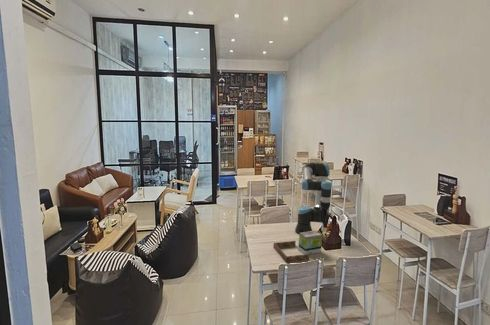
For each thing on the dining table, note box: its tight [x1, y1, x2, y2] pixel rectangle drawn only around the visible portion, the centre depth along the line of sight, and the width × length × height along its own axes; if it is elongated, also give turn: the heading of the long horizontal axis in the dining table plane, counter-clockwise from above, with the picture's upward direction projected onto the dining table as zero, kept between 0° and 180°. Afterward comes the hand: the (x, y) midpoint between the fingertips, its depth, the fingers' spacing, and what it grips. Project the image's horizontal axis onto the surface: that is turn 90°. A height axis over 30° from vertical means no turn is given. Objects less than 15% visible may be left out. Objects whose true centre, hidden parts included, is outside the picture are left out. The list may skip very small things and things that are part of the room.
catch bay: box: [273, 240, 310, 263], centre depth 221 cm, size 19×24×4 cm
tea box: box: [297, 230, 323, 255], centre depth 224 cm, size 15×10×15 cm, turn 114°
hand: (323, 230), depth 226 cm, fingers closed
